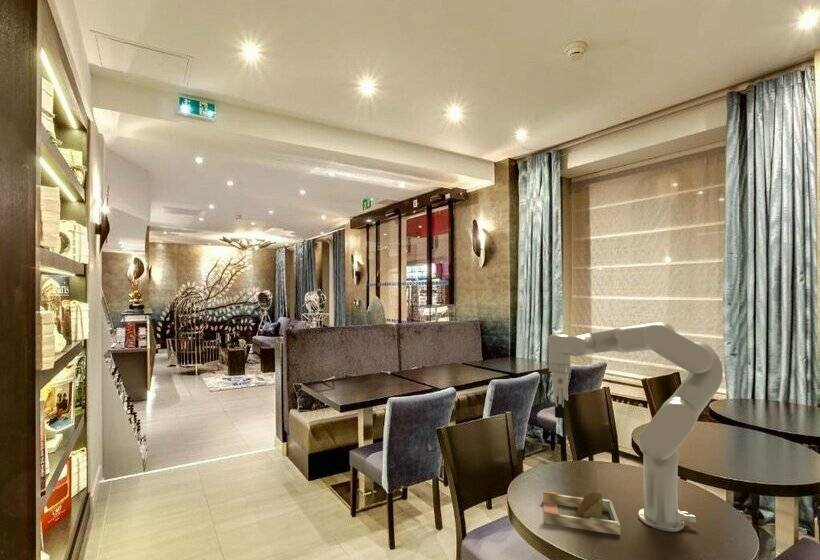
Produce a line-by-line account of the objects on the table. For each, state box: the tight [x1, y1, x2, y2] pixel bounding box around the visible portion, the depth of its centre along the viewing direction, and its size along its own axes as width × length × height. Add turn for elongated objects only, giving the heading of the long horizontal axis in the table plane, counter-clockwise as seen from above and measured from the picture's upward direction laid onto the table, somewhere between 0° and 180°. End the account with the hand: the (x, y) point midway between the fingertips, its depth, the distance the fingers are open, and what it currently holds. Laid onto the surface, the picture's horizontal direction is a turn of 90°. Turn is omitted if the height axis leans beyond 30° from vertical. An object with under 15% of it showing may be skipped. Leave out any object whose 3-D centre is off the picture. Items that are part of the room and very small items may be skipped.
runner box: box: [542, 493, 621, 536], centre depth 138 cm, size 22×15×4 cm
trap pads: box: [542, 490, 560, 516], centre depth 141 cm, size 5×15×4 cm, turn 164°
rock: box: [573, 492, 604, 519], centre depth 136 cm, size 11×9×10 cm
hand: (559, 417), depth 157 cm, fingers closed
